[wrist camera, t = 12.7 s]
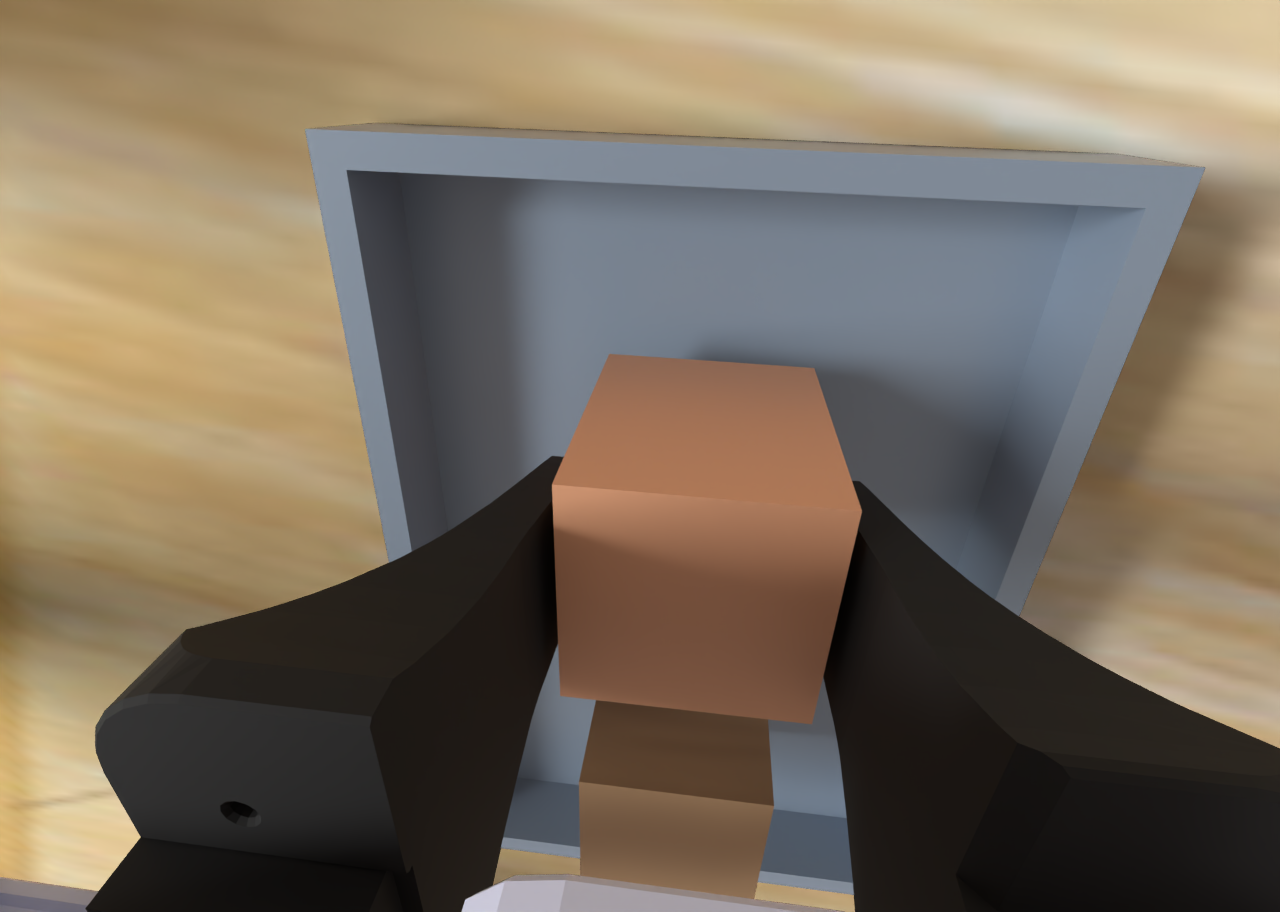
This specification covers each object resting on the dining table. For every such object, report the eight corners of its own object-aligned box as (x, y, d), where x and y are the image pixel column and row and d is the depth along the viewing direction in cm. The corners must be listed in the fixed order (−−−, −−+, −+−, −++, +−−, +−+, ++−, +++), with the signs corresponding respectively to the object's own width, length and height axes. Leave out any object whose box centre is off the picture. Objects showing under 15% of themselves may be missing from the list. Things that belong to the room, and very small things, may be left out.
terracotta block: (785, 536, 15) (811, 724, 10) (607, 520, 15) (559, 696, 11) (814, 367, 13) (861, 511, 8) (609, 353, 13) (551, 484, 9)
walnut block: (745, 729, 20) (751, 912, 15) (612, 714, 20) (580, 888, 16) (761, 629, 18) (774, 806, 13) (614, 614, 18) (578, 781, 14)
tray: (883, 819, 22) (900, 900, 19) (469, 768, 23) (443, 840, 21) (1117, 153, 12) (1204, 167, 10) (374, 122, 13) (304, 128, 11)
